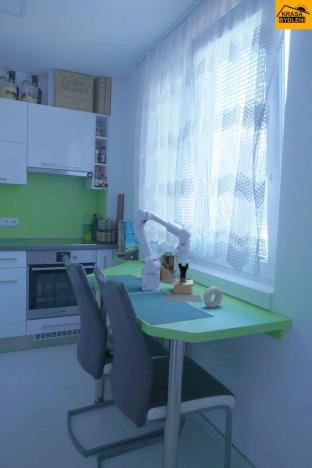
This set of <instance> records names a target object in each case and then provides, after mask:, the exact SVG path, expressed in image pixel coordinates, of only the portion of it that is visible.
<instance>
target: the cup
mask: <svg viewBox="0 0 312 468" xmlns="http://www.w3.org/2000/svg"><path fill="white" fill-rule="evenodd" d="M146 272H147V271H146V269H145V266H143V267H141V271H140V274H141V275H140V276H141V277H142V276H143V273H146Z"/></svg>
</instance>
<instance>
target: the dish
mask: <svg viewBox="0 0 312 468" xmlns="http://www.w3.org/2000/svg"><path fill="white" fill-rule="evenodd" d="M192 287H193V286H180V285H173V294H181V295H192Z"/></svg>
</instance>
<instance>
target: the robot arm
mask: <svg viewBox="0 0 312 468" xmlns="http://www.w3.org/2000/svg"><path fill="white" fill-rule="evenodd" d="M132 216H133V217H132V218H133V223H132V228H133V232H134V233H135V237H136V238H137V241H138V244H139V247H140V249H141V252H142V254H143V257H144V267H145V269H144V270H145V272H146V271H147V272H146V273H145V272H144V273H143V276H142V275H141V277H142V278H141V280H142V281H141V291H160V290H161V287H160V268H161V263H160V261H159V260H158V257H157V256H156V255H155V254H154V251H153V249H152V245H151V244H150V241H149V239H148V235H147V233H146V231H145V229H144V227H145V225H146V224H147V222H149V221H154V222H156V223H158V224H159V225H161V226H163V227H165V229H166V231H167V232H169V233H170V234H173V235H174V236H175V237H178V249H177V250H178V255H177V268H178V269H179V277H180V276H181V278H185V276H186V277H187V271H188V269H189V267H190V265H189V263H191V262H192V260H191V259H190V247H191V246H190V242H191V240H190V239H191V236H192V232H191V231H190V230H189V229H188V228H185V227H184V226H183V225H182V226H181V225H180V224H178V223H177V221H175V220H174V221H173V220H171V221H169V220H167V219H165V218H163V217H162V216H160V215H159V214H158V213H156V212H153V211H151V210H149V209H147V208H143V209H142V208H138V209H136V210H135V211H134V213H133V215H132Z"/></svg>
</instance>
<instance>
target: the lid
mask: <svg viewBox="0 0 312 468" xmlns="http://www.w3.org/2000/svg"><path fill="white" fill-rule="evenodd" d="M171 285H172V286H174V285H180V286H192V287H194V280H193V279H187V275H186V276H185V278H181V276H180V275H179V279H177V278H176V279H172V283H171Z"/></svg>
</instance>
